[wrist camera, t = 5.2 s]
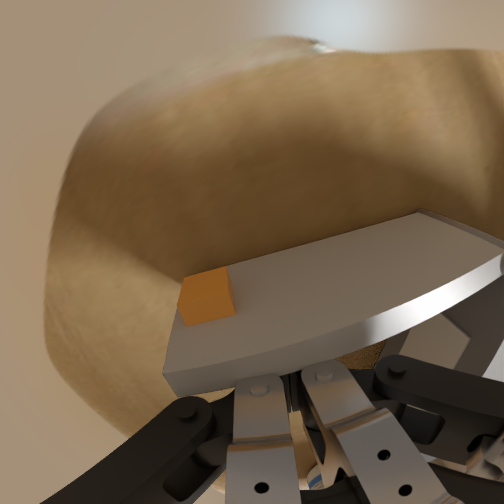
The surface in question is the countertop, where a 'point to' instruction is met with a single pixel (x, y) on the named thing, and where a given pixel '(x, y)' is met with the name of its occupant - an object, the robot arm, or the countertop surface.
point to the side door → (323, 299)
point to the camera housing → (459, 337)
